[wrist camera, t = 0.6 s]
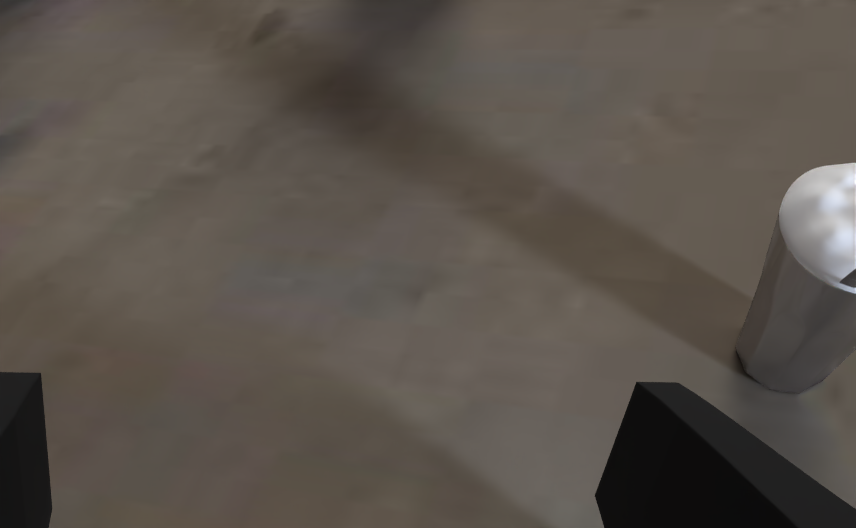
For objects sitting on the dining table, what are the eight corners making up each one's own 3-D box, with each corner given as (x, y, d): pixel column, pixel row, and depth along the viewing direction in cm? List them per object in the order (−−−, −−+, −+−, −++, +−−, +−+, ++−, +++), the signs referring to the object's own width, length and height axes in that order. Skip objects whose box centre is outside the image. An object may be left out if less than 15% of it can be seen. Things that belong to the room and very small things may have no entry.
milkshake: (694, 398, 29) (774, 238, 20) (736, 285, 31) (823, 102, 23) (824, 452, 27) (967, 303, 19) (858, 329, 30) (997, 150, 21)
